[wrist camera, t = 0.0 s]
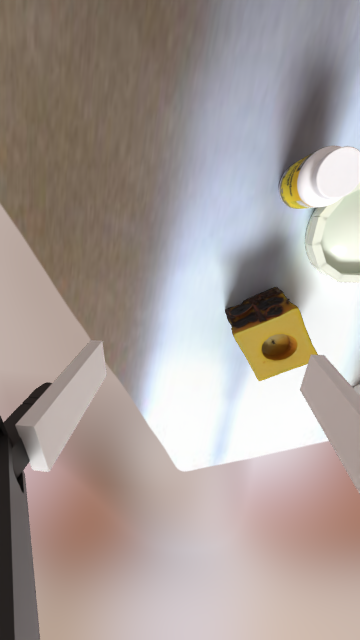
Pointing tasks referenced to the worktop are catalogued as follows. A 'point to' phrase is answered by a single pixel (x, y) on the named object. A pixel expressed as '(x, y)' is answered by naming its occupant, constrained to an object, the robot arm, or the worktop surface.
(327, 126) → the worktop surface
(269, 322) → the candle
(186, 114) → the worktop surface
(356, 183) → the pill bottle
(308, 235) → the sage dish
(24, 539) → the robot arm
